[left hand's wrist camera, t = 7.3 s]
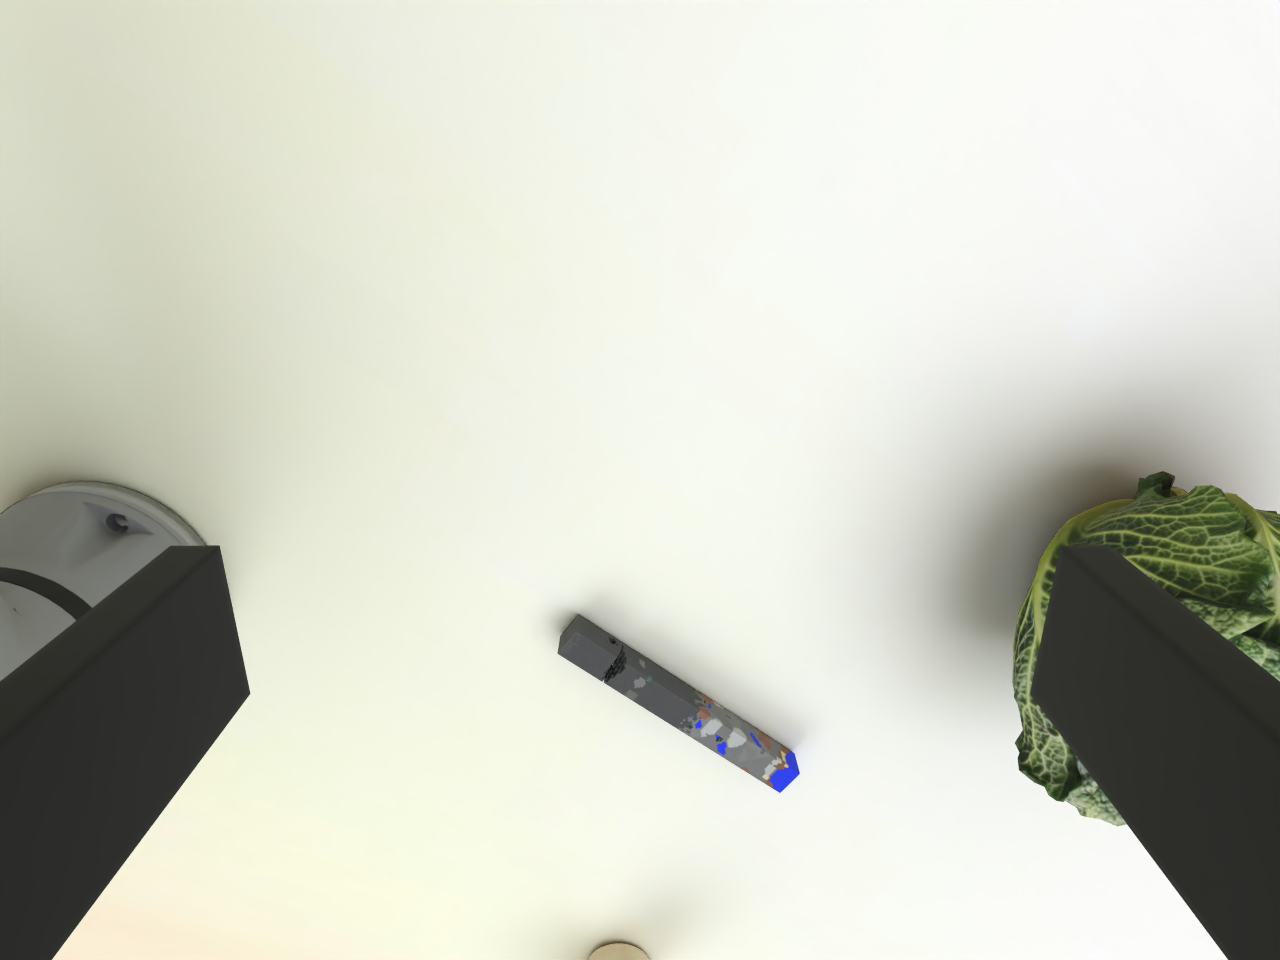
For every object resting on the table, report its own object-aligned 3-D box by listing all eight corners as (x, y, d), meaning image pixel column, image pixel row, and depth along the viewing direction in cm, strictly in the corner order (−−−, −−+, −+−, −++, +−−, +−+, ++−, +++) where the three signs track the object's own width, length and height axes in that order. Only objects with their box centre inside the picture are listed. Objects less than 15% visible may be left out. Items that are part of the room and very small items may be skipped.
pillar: (576, 631, 53) (803, 776, 58) (578, 614, 55) (797, 755, 60) (557, 653, 54) (783, 795, 58) (560, 636, 56) (778, 774, 60)
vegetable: (968, 554, 62) (955, 800, 48) (1100, 354, 47) (1132, 623, 34) (1241, 639, 59) (1307, 926, 45) (1467, 453, 45) (1660, 789, 31)
